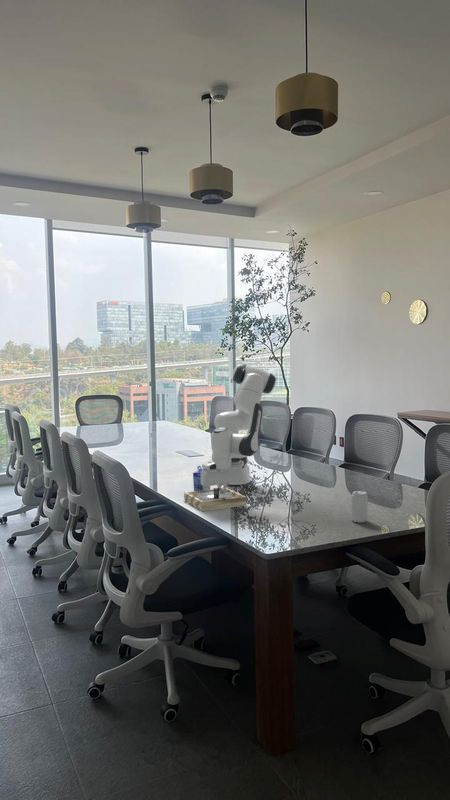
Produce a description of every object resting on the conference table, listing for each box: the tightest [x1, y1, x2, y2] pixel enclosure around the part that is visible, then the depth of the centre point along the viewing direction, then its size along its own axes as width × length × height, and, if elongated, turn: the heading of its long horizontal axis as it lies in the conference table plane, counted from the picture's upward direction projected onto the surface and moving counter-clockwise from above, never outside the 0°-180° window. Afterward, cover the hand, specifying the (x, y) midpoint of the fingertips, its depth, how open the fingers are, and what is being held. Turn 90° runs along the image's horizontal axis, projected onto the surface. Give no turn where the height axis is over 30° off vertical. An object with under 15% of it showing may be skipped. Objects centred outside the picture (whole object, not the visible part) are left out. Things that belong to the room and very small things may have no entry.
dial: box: [197, 487, 233, 501], centre depth 275 cm, size 17×17×6 cm
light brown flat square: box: [183, 487, 247, 512], centre depth 275 cm, size 22×22×4 cm
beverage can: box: [350, 490, 369, 524], centre depth 241 cm, size 6×6×12 cm
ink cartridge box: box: [192, 465, 211, 491], centre depth 292 cm, size 10×6×14 cm, turn 161°
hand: (222, 493), depth 269 cm, fingers closed
